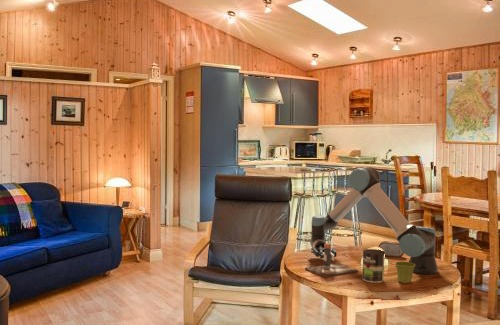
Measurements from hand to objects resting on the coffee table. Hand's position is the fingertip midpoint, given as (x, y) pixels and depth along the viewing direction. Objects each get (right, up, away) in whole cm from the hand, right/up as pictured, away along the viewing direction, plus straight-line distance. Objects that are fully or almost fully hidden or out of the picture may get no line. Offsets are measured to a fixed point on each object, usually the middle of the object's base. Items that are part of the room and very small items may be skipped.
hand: (329, 258), depth 249 cm
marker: (0, -7, +6) cm, 9 cm away
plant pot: (+35, -10, -9) cm, 38 cm away
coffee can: (+20, -9, -7) cm, 23 cm away
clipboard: (+2, -8, +8) cm, 11 cm away
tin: (+43, -7, +41) cm, 60 cm away
